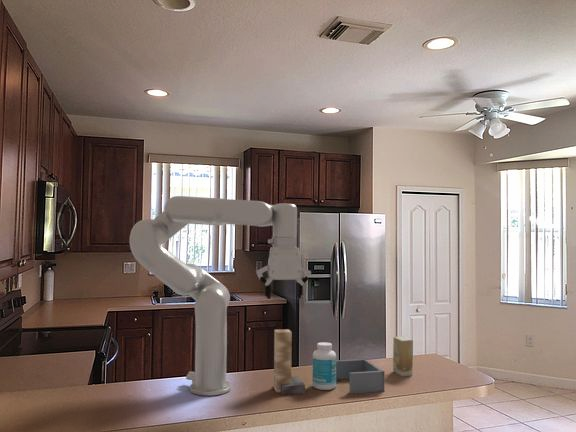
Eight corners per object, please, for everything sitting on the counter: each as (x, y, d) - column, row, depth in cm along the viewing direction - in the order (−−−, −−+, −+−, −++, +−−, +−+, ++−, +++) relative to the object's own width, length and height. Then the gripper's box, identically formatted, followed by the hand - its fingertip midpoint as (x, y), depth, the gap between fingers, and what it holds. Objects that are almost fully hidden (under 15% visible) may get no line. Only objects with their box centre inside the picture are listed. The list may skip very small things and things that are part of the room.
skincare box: (392, 371, 166) (392, 336, 166) (403, 370, 167) (403, 335, 167) (402, 376, 159) (402, 340, 160) (413, 375, 161) (413, 339, 161)
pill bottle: (337, 391, 144) (337, 346, 145) (312, 390, 144) (313, 346, 145) (335, 383, 151) (335, 341, 152) (312, 383, 152) (312, 340, 152)
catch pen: (350, 393, 142) (350, 373, 142) (334, 378, 156) (335, 360, 157) (384, 391, 144) (384, 371, 144) (365, 376, 159) (365, 358, 159)
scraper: (278, 395, 140) (278, 334, 141) (272, 385, 149) (273, 328, 149) (304, 393, 142) (305, 333, 142) (297, 384, 151) (298, 327, 151)
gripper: (259, 242, 141) (258, 300, 141) (314, 243, 145) (313, 299, 144) (255, 242, 149) (254, 296, 148) (308, 243, 152) (307, 296, 152)
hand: (283, 298), depth 146 cm, fingers open, 9 cm apart
